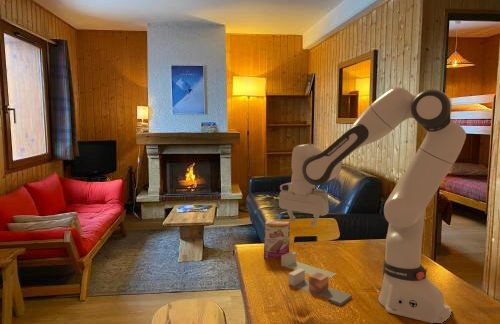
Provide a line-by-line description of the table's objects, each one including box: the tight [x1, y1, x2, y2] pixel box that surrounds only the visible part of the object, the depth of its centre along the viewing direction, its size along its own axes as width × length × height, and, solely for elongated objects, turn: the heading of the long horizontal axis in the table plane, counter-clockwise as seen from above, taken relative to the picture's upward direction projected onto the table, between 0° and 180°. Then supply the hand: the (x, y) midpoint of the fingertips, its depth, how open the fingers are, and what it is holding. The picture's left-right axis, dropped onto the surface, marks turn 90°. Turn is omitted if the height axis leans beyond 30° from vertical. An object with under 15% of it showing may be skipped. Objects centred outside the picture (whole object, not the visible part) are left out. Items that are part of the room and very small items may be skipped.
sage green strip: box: [280, 251, 337, 280], centre depth 158 cm, size 22×8×5 cm, turn 48°
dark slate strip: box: [287, 268, 353, 307], centre depth 140 cm, size 22×8×5 cm, turn 48°
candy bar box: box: [263, 220, 291, 260], centre depth 173 cm, size 11×5×16 cm, turn 84°
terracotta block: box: [308, 272, 330, 294], centre depth 139 cm, size 5×5×5 cm
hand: (302, 223), depth 147 cm, fingers open, 8 cm apart
